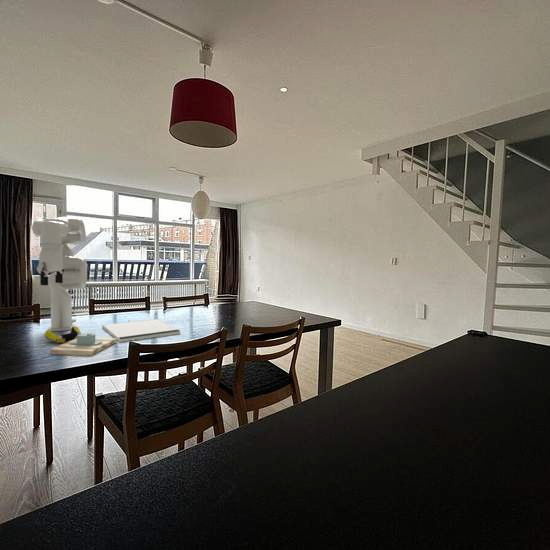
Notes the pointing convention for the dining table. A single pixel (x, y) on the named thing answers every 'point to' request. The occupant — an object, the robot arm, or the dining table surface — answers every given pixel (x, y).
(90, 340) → the servo block
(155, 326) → the white flat board
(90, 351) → the plate
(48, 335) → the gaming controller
